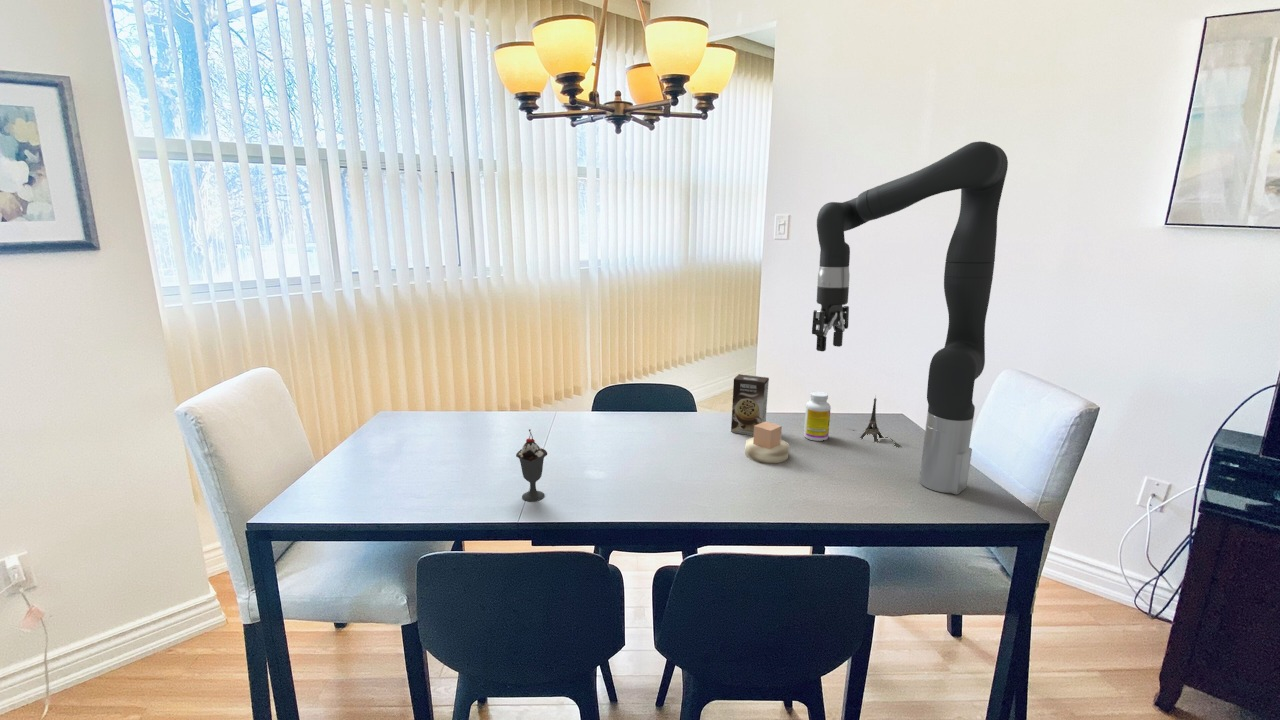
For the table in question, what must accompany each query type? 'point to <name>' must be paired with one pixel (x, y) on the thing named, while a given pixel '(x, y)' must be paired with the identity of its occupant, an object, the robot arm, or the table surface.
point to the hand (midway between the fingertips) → (829, 348)
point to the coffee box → (749, 403)
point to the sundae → (532, 467)
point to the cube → (767, 435)
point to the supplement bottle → (817, 417)
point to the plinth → (766, 452)
